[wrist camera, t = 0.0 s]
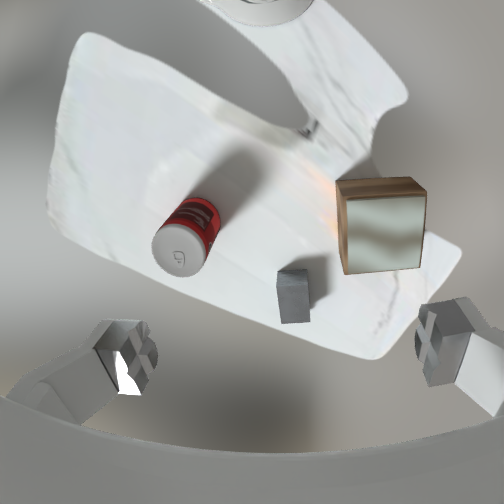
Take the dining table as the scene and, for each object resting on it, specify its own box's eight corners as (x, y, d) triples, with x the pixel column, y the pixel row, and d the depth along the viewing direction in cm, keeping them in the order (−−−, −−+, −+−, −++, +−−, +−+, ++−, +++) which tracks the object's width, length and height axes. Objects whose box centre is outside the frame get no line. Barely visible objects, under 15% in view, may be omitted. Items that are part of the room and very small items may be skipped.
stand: (335, 180, 45) (343, 198, 38) (410, 176, 43) (428, 193, 36) (338, 251, 51) (345, 277, 44) (406, 245, 48) (421, 269, 42)
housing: (277, 271, 54) (276, 286, 50) (306, 269, 53) (307, 284, 49) (283, 313, 58) (282, 330, 55) (309, 312, 58) (310, 328, 54)
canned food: (188, 245, 53) (166, 282, 44) (168, 204, 50) (140, 235, 40) (229, 234, 51) (214, 271, 42) (210, 189, 48) (189, 218, 38)
